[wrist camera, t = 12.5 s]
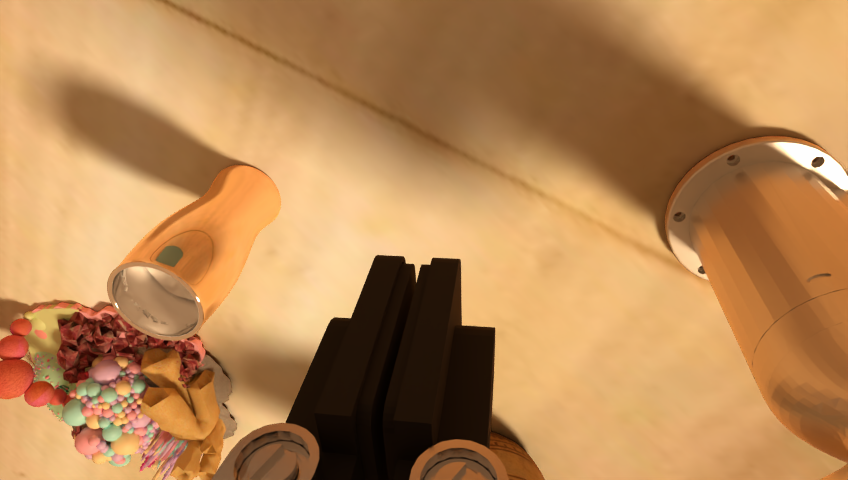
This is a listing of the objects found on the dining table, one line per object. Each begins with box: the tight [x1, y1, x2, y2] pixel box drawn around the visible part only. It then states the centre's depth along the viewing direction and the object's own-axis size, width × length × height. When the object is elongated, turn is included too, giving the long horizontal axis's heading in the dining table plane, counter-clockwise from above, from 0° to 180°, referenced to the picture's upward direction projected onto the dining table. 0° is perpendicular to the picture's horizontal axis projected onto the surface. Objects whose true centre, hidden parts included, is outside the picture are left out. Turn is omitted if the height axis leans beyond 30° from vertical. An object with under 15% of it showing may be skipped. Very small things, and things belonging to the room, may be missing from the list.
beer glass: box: [107, 165, 281, 341], centre depth 43 cm, size 7×7×15 cm
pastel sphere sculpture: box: [0, 302, 237, 480], centre depth 62 cm, size 25×24×9 cm
